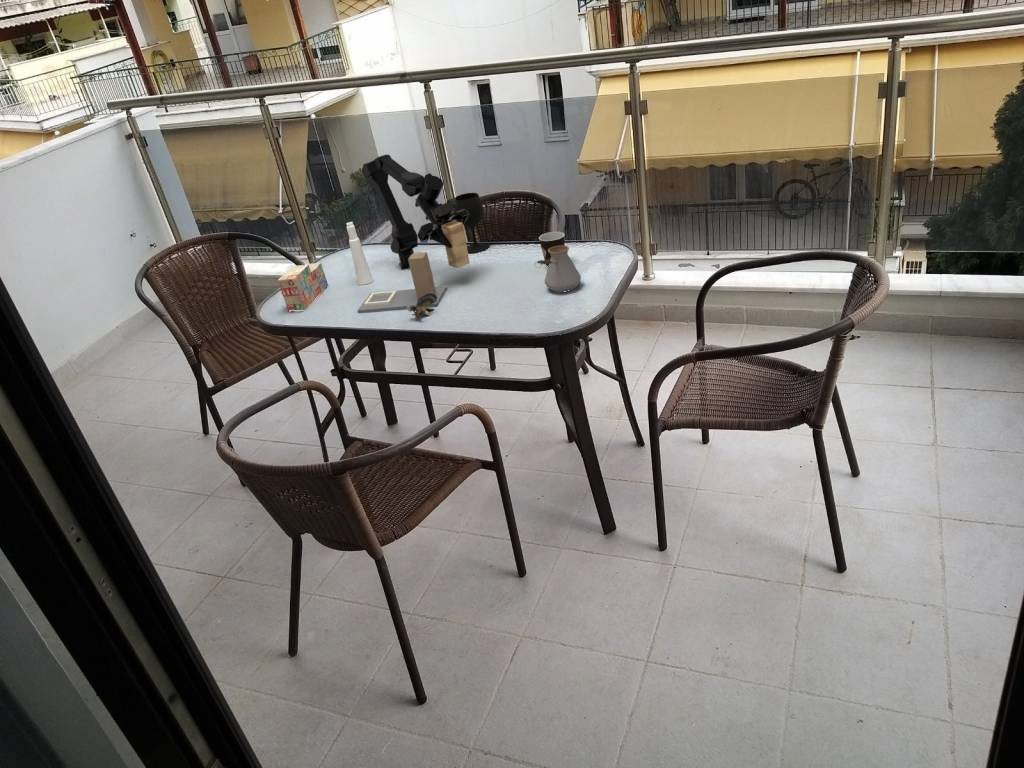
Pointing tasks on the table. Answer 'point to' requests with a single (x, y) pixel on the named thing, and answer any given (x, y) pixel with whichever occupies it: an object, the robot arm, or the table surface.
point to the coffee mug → (551, 242)
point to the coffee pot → (560, 270)
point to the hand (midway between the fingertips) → (457, 244)
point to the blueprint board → (406, 297)
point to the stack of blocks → (302, 285)
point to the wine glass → (472, 217)
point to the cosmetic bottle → (358, 257)
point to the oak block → (456, 244)
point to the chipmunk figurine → (423, 305)
